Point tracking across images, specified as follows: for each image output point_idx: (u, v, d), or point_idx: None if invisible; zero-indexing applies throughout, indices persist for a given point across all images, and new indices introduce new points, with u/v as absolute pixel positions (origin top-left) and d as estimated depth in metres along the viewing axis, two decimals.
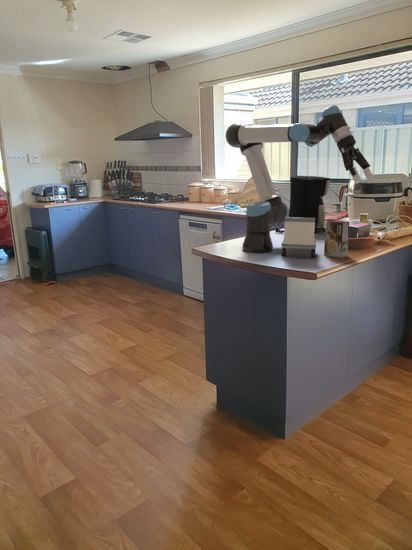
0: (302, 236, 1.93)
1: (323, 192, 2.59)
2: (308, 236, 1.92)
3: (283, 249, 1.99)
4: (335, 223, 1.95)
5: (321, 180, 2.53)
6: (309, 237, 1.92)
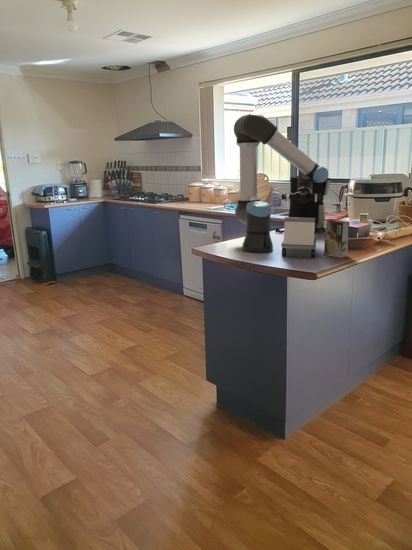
0: (302, 236, 1.93)
1: (323, 192, 2.59)
2: (308, 236, 1.92)
3: (283, 249, 1.99)
4: (335, 223, 1.94)
5: None
6: (309, 237, 1.92)
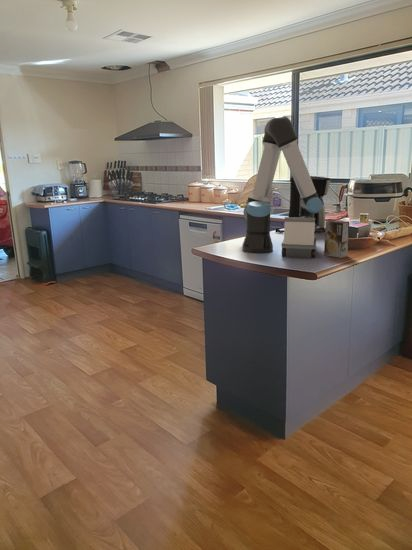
0: (302, 236, 1.93)
1: (323, 192, 2.59)
2: (308, 236, 1.92)
3: (283, 249, 1.99)
4: (335, 223, 1.94)
5: (321, 180, 2.53)
6: (308, 237, 1.92)
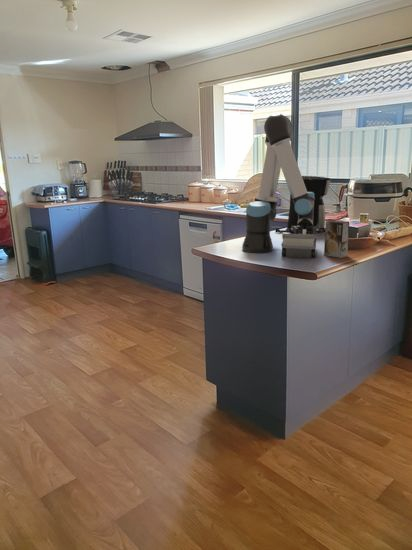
0: (301, 243, 1.90)
1: (323, 192, 2.59)
2: (307, 243, 1.89)
3: (283, 249, 1.99)
4: (335, 223, 1.94)
5: (321, 180, 2.53)
6: (308, 243, 1.90)
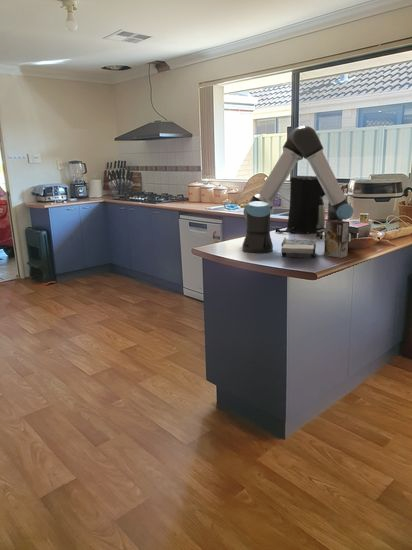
0: None
1: (323, 192, 2.59)
2: None
3: None
4: (335, 223, 1.94)
5: None
6: None
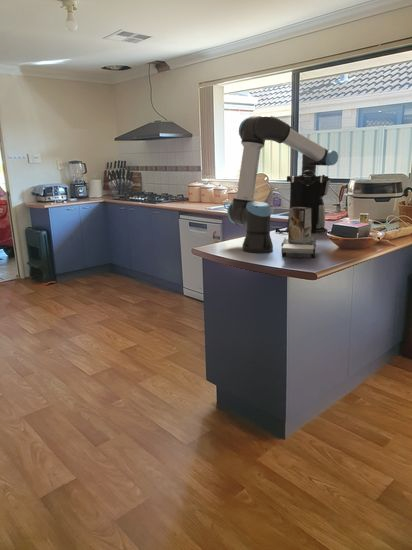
0: None
1: (323, 192, 2.59)
2: None
3: None
4: (298, 209, 1.96)
5: None
6: None
